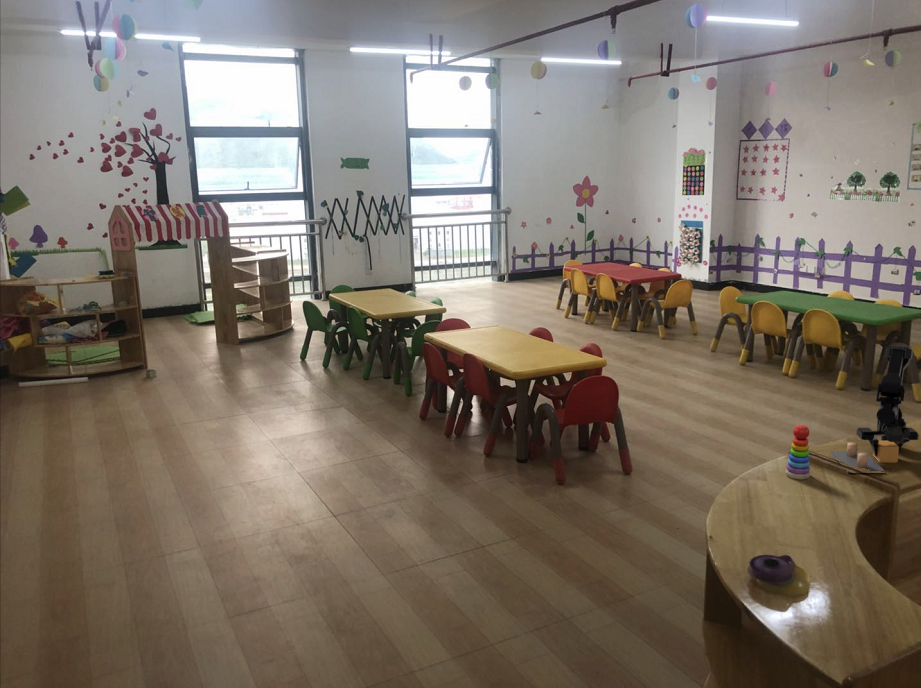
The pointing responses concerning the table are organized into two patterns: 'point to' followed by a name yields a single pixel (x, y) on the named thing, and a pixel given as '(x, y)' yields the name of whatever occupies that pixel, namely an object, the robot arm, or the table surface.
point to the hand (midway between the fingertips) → (885, 456)
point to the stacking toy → (799, 454)
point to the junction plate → (856, 458)
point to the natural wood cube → (887, 452)
